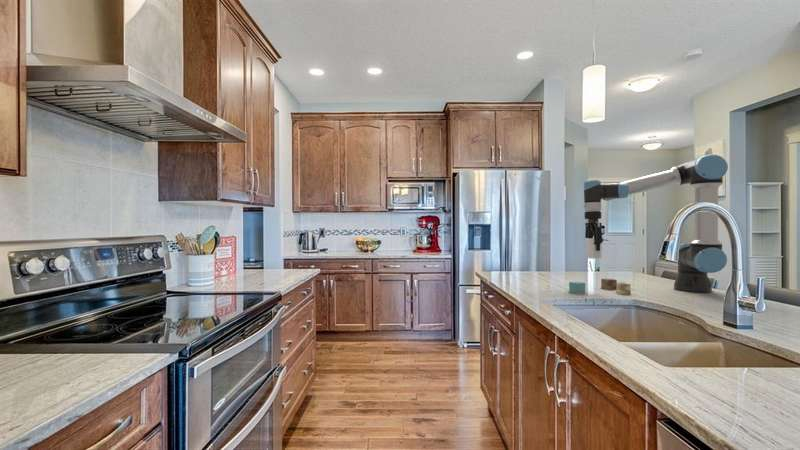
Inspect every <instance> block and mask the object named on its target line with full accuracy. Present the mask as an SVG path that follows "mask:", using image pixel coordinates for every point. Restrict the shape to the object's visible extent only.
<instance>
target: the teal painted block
mask: <svg viewBox="0 0 800 450" xmlns="http://www.w3.org/2000/svg"><path fill="white" fill-rule="evenodd" d="M568 285H569V288H568V289H569V290H568V292H569V293H571V292H572V293H571V294H576V293H581V294H586V282H581V281H570V282H569V283H568Z"/></svg>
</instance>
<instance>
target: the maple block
mask: <svg viewBox="0 0 800 450" xmlns="http://www.w3.org/2000/svg"><path fill="white" fill-rule="evenodd" d="M616 285H617V290H616V294H618V295H631V292H632V291H631V285H632V284H631V283H630V282H619V281H617V282H616Z"/></svg>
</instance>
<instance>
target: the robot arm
mask: <svg viewBox="0 0 800 450" xmlns="http://www.w3.org/2000/svg"><path fill="white" fill-rule="evenodd" d="M728 169H729V167H728V162H727V160H726V159H725V158H724V157H722V156H720V155H718V154H713V153H712V154H706V155H701V156H699V157H697V158H693V159H691V160H688V161H687V162H684V163H682V164H680V165H679V164H678V165H675V166H673V167H671V169H670V170H664V171H661V172H658V173H657V172H656V173H653V174H648V175H644V176H642V177H638V178H634V179H630V180H629V179H628V180H626V181H622V182H616V183H602V182H601V180H599V179H589V180H585V181H584V183H583V201H584V204H582V205H583V208H584V220H587V222H585V225H584V227H585V233H584V235H585V236H584V237H585V238H594V242H595V243H593V244H594V257H595V258H599V257H601V254H602V253H600V244H601V243H602V244H603V233H602V231H603V230H602V226H603V225H602V222H599V220H601V219H602V200H603V201H607V202H608V201H611V200H615V199H620V200H621V199H626V198H628V196H631V195H636V194H640V193H644V192H648V191H651V190H656V189H660V188H664V187H669V186H674V185H675V186H681V185H687V184H688V185H689V184H690V186H691V187H692V188H693V189H694V204H695V203H696V202H711V203H715V204H717V205H718V206H719V187H721V186H722V185H723V184H724V183H723V182H724V181H723V180H724V179H723V178H724V176H725V175H726V174H727V172H728ZM693 221H694V223H693V224H694V231H693V232H694V233H693V238H694V239H693V240H692V241H691V242H690V243H680V244H679V245H680V249H679V260H678V259H677V276H676V277H675V280H674V282H673V289H674V290H677V291H684V292H689V293H712V292H713V286H712V283H711V282H710V279H709V277H708V274H709V273H710V274H713V273H714V274H715V273H718V272H720V271H721V270H723V269H724V268H725V267H726V265H727V262H728V257H727V254H726V253H725V252H724V251H723V243H722V242H721V241H720V240H719V216H718V217H717V216H716V215H715V214H713V213H711V212H698V213H695V214H694V220H693ZM585 238H584V239H585Z"/></svg>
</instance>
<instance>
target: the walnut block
mask: <svg viewBox="0 0 800 450" xmlns="http://www.w3.org/2000/svg"><path fill="white" fill-rule="evenodd" d="M616 282H618V280H617V279H614V278H601V279H600V283H601V284H600V287H601V289H603V288H604V289H603V290H606V289H607V291H611V290H613V291H614V290H615V291H617V285H616Z"/></svg>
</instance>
